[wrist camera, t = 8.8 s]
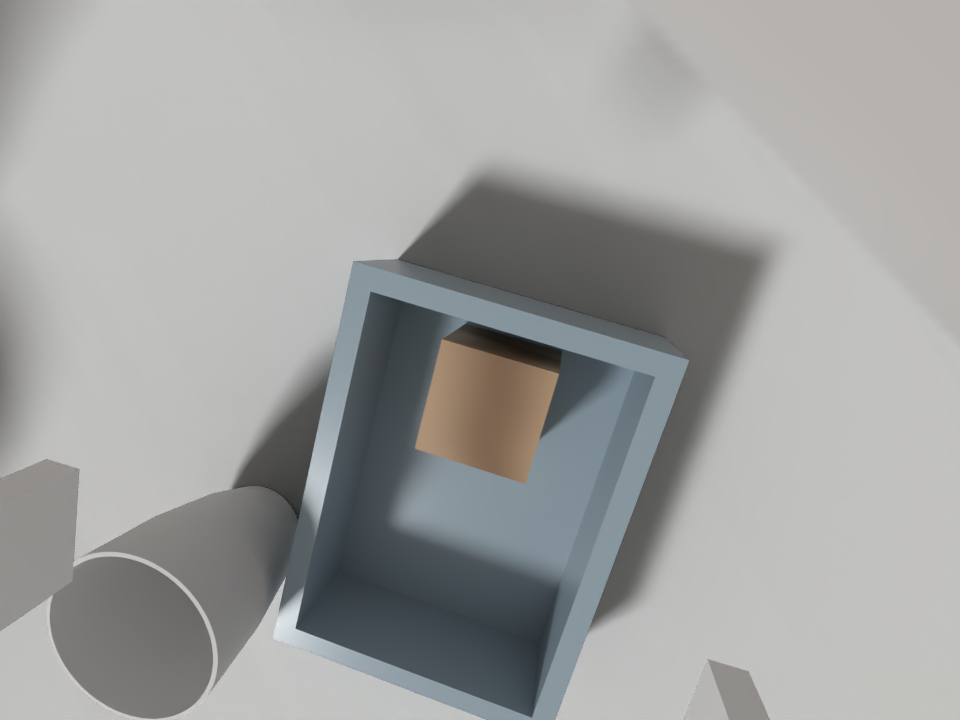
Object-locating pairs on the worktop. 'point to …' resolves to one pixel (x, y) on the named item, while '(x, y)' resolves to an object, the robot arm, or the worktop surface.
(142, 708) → the cup
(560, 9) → the worktop surface
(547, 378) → the walnut cube
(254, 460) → the worktop surface
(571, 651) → the tote
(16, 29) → the worktop surface
